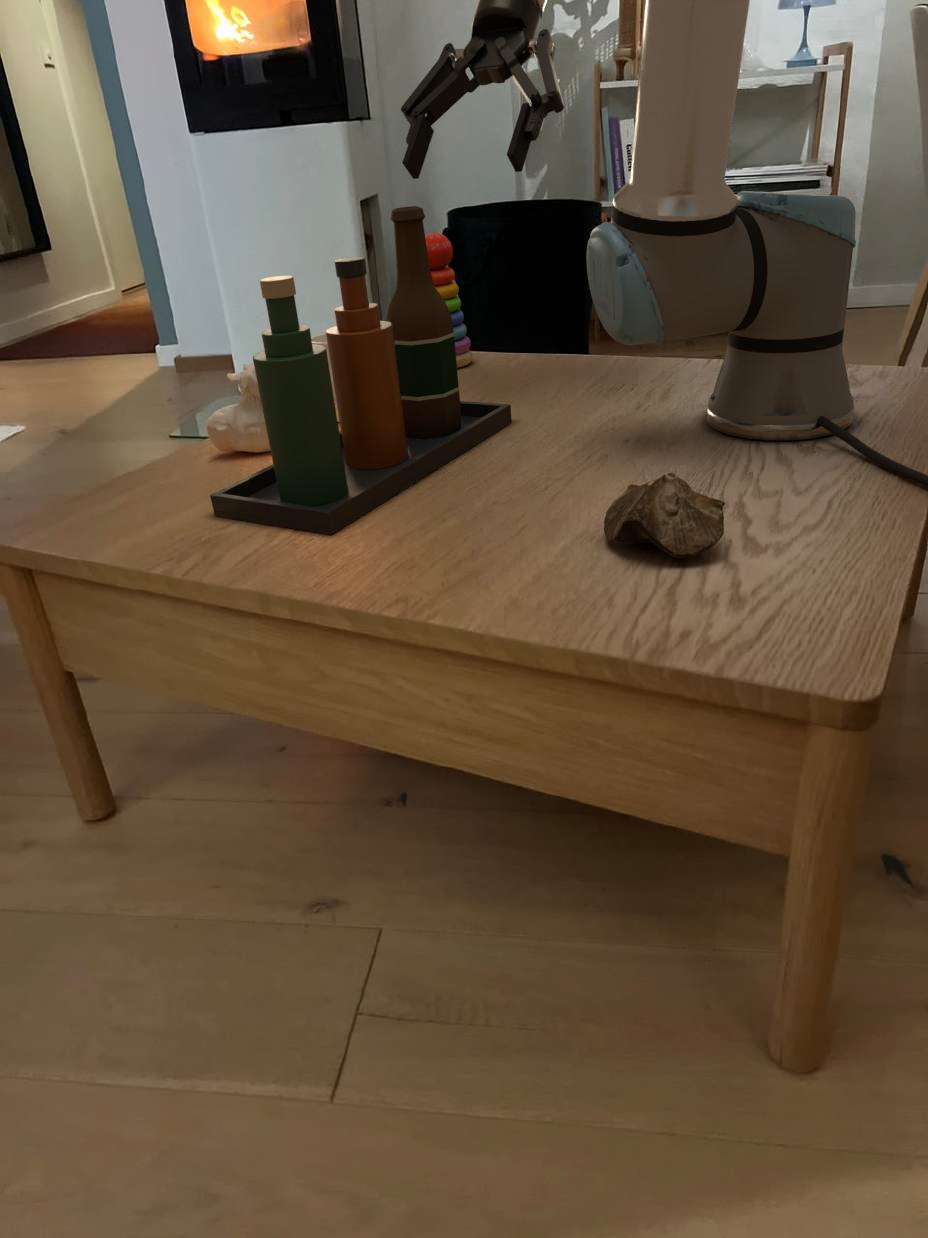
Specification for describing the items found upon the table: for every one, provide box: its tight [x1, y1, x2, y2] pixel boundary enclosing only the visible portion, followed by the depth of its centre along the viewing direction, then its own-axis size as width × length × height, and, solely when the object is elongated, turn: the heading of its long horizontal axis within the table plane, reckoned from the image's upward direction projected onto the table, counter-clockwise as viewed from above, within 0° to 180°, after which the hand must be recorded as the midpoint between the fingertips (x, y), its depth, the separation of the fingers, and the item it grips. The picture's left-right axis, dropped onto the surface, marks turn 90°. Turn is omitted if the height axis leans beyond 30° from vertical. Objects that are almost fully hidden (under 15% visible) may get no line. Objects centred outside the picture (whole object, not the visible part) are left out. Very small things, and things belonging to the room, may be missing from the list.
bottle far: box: [252, 275, 348, 506], centre depth 86 cm, size 7×7×20 cm
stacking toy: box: [425, 232, 474, 369], centre depth 134 cm, size 8×8×19 cm
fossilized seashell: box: [603, 472, 726, 559], centre depth 73 cm, size 8×7×10 cm
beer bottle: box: [385, 205, 461, 439], centre depth 101 cm, size 8×8×24 cm
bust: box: [206, 362, 271, 454], centre depth 105 cm, size 12×8×11 cm
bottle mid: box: [325, 256, 408, 470], centre depth 94 cm, size 7×7×20 cm
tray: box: [209, 400, 513, 536], centre depth 98 cm, size 36×15×2 cm, turn 150°
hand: (460, 167), depth 102 cm, fingers open, 13 cm apart
